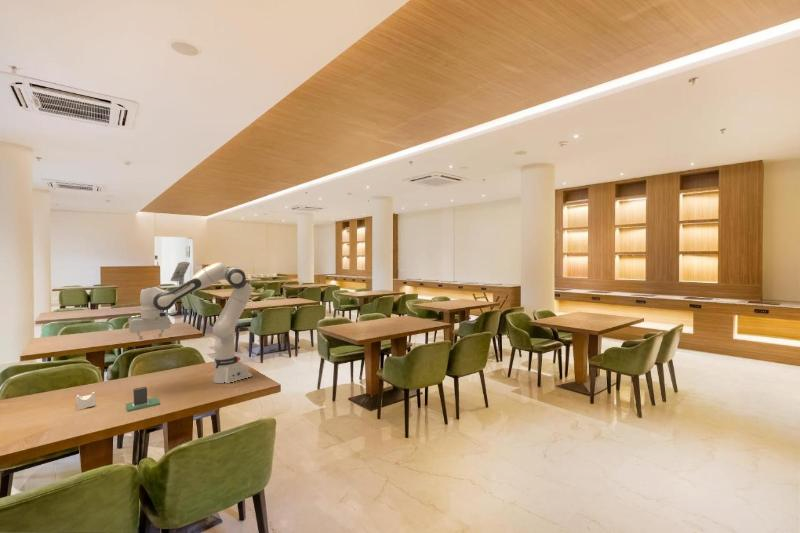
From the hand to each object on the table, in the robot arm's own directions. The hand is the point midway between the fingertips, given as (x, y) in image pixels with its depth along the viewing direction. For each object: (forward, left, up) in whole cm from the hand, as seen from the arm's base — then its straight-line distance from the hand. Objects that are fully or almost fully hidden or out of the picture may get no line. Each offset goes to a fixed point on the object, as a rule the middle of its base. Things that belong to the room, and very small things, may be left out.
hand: (150, 338), depth 220 cm
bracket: (+30, 0, -32) cm, 44 cm away
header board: (+7, +21, -31) cm, 38 cm away
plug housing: (+8, +21, -30) cm, 38 cm away
